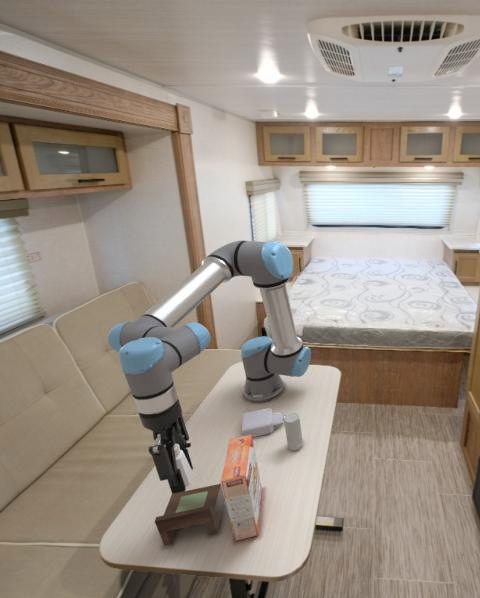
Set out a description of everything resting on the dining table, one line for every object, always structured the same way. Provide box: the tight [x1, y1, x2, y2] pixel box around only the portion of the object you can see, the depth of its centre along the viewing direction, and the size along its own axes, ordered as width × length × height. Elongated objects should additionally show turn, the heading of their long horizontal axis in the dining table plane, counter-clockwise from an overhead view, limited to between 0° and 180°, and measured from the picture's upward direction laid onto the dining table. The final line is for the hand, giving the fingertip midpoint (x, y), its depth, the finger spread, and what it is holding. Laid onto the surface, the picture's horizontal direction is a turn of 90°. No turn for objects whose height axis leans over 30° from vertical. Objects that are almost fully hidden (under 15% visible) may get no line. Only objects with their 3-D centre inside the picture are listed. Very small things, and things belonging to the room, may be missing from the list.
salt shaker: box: [174, 444, 196, 488], centre depth 83 cm, size 5×5×11 cm
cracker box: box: [220, 435, 263, 542], centre depth 88 cm, size 14×6×21 cm, turn 17°
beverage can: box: [283, 412, 304, 451], centre depth 112 cm, size 5×5×12 cm
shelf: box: [154, 483, 226, 547], centre depth 89 cm, size 10×12×9 cm
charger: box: [241, 407, 288, 438], centre depth 122 cm, size 5×9×15 cm
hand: (183, 480), depth 85 cm, fingers closed on salt shaker, 5 cm apart
